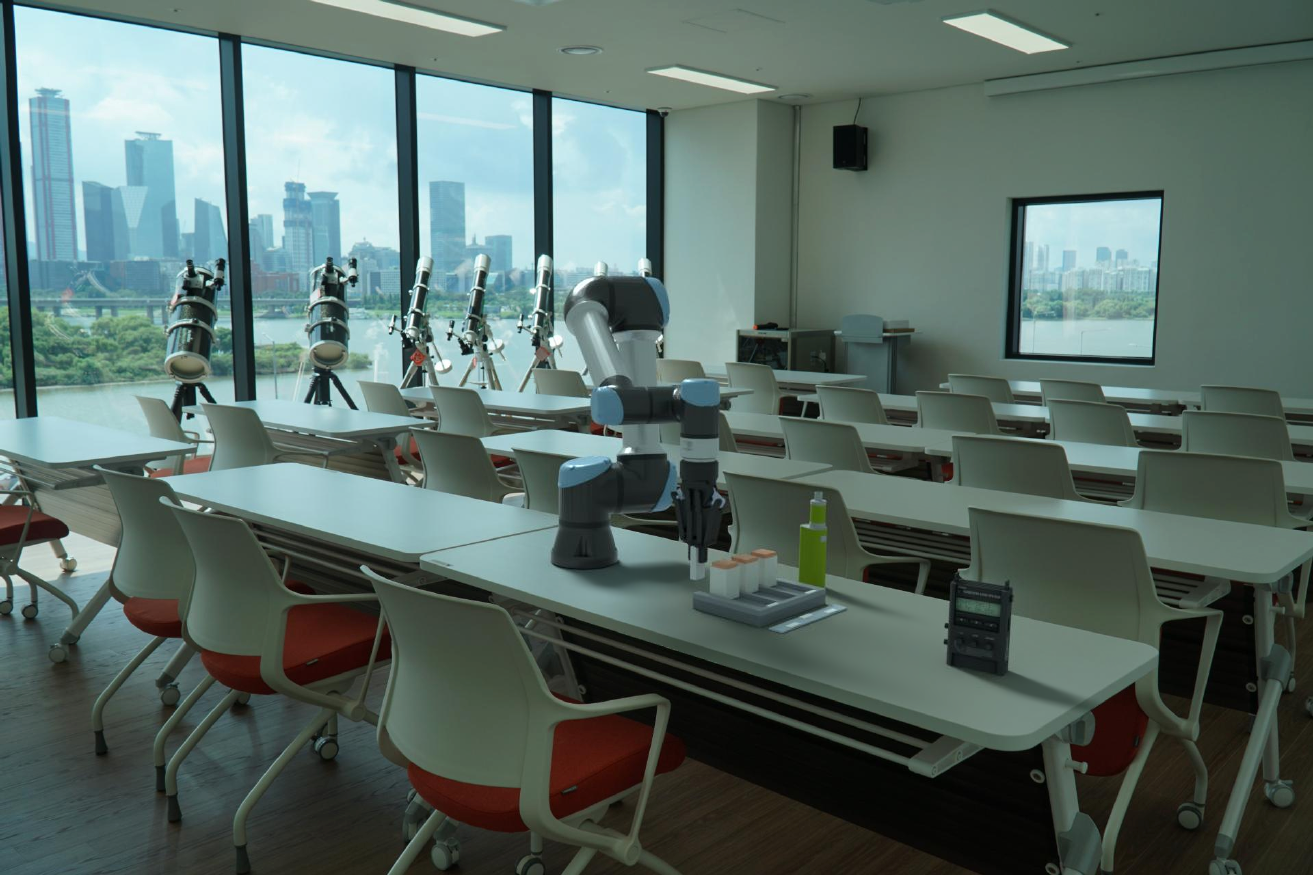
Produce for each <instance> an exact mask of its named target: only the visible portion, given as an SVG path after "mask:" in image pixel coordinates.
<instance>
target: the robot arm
mask: <svg viewBox="0 0 1313 875" xmlns="http://www.w3.org/2000/svg"><path fill="white" fill-rule="evenodd" d="M563 304H564V305H563V312H562V313H563V319H564V323H565V326H566V329H567V330H568V332H569V333H570V334H571V335H572V336H574V337H575V339H576V342H577V344H578V348H579V349H580V352H581V355H582V357H583V361H584V363H585V365H586V369H587V371H588V373H589V375H590V379H591V381H592V384H593V386H594V389H593V390H592V392H591V394H590V404H589V406H590V407H589V408H590V412H591V417H592V418H591V419H592V420H593V422H594V423H595V424H597V425H599V426H600V425H601V426H602V425H603V426H604V425H606V426H612V427H614V426H621V437H622V441H621V442H622V447H621V449H620V450H619V451H618V452H617V453H616V462H612V460H611V458H610V457H609V456H607V455H596V456H594V455H591V456H589V455H588V456H584V457H583V456H582V457H577V458H573V459H570V460H567V461H565V462H564V463H563V464H561V465H560V468H559V470H558V481H557V487H558V529H557V533H556V536H555V540H554V542H553V543H554V544H553V546H552V548H551V550H550V561H551V563H552V564H553V565H555V566H559V567H562V568H568V569H578V570H579V569H583V570H585V569H587V570H589V569H600V568H606V567H610V566H613V565H614V564H617V562H618V561H619V558H618V557H619V552H618V548H617V547H616V542H615V539H614V534H613V532H612V528H611V515H612V514H613V515H619V514H637V513H638V514H639V513H649V514H650V513H653V512H662V511H665V510H667V509H669V508H670V507H671V505H672V504H674V505H673V506H674V510H675V516H676V522H677V529H678V534H679V535H678V536H679V539H680V540H681V541H684V542H686V544H687V546H688V547H687V558H688V561H690V564H689V570H690V571H689V573H690V574H689V579H690V580H692V581H693V580H694V581H698V580H702V579H704V578H705V577H706V563H707V562H708V559H709V558H708V556H709V554H708V552H709V551H708V550H709V546H711V545H716V544H717V541H718V537H719V532H720V527H721V524H722V523H721V522H722V519H723V518H722V517H723V515H724V509H725V507H726V506H727V504H728V502H729V500H728V498H727V496H726V497H725V496H724V497H723V496H721V495H720V493H718V492H719V488H718V486H717V481H718V479H719V464H720V462H719V460H717V458H719V457H720V413H721V412H720V411H721V406H720V405H721V392H720V391H721V390H720V388H721V387H720V383H719V382H718V380H716V379H713V378H685V379H684V380H682V382H681V383H680V384H671V385H668V386H667V385H666V386H665V385H664V386H663V385H658V371H657V370H658V369H657V349H656V348H657V347H656V346H657V345H656V342H657V341H658V340H659V338H660V337H661V335H662V329H664V328H665V327H667V326H668V324H669V321H670V314H671V309H670V307H671V306H670V299H669V295H668V292H667V289H666V287H665V285H664V284H663V282H662V281H661V280H660V279H658V278H656V277H650V276H648V277H647V276H643V275H639V276H638V275H636V276H631V275H630V276H629V275H628V276H626V275H620V276H619V275H615V276H613V275H611V276H610V275H592V276H590V277H587V278H585V279H582V280H581V281H579V282H578V283H577V284H575V285H574V286H573V287H572V289H571V290H570V291H569V293H568V294H567V297H566V298H565V300H564V303H563ZM616 342H617V344H618V346H617V344H616ZM667 424H668V425H669V424H673V425H674V424H677V425H678V424H680V427H679V429H680V430H679V431H680V433H679V434H680V435H679V437H680V440H679V448H680V449H679V453H680V454H679V456H680V457H681V458H682V459H680V461H679V478H680V479H681V482H680V485H679V488H678V489H677V487H678V471H677V466H676V464H675V462H674V461H673V460H671V459H668V452H667V450H665V449H664V447H662V446H661V438H660V425H667Z"/></svg>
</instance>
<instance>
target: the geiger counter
mask: <svg viewBox="0 0 1313 875" xmlns="http://www.w3.org/2000/svg"><path fill="white" fill-rule="evenodd" d="M953 577H954V579H953V580H951V581H950V583H949V584H950V586H949V588H950V590H949V605H948V606H949V607H948V622H945V623H944V629H947V638H944V639H943V645H944V646H945V645H946V647H947V648H946V662H945V664H946V665H947V666H955V667H959V668H960V667H961V668H965V669H970V670H974V671H978V672H984V673H988V674H994V675H996V676H999V677H1002V676H1003V677H1004V675H1006V673H1007V672H1008V671H1009V660H1010V657H1009V656H1010V642H1011V641H1010V639H1011V627H1012V626H1011V625H1012V621H1011V620H1012V610H1013V608H1012V606H1013V602H1014V601H1015V600H1014V599H1015V595H1014V590H1013V589H1014V588H1013V587H1012V586H1010V583H1011V582H1010V579H1007V580H1005V581H1004V585H1001V584H996V583H989V582H983V581H977V580H970V579H964V578H960V571H957V572H955V573H954V576H953Z"/></svg>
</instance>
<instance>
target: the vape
mask: <svg viewBox="0 0 1313 875" xmlns="http://www.w3.org/2000/svg"><path fill="white" fill-rule="evenodd" d="M809 505H810V511H809V512H810V513H809V523H803V524H802V523H801V524H800V526H799V547H798V548H799V551H798V552H799V553H798V554H799V555H798V556H799V557H798V578H797V580H798V581H797V582H800V583H804V584H808V585H813V586H817V587H821V588H825V589H826V573H827V572H826V571H827V570H826V569H827V568H826V566H827V565H826V564H827V546H828V545H827V544H828V543H827V542H828V541H827V540H828V539H827V538H828V527H827V526H826V524H827V523H826V517H827V516H826V514H827V513H826V512H827V510H826V509H827V500H826V499H823V491H814V498H813V499H811V500H810V504H809Z"/></svg>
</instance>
